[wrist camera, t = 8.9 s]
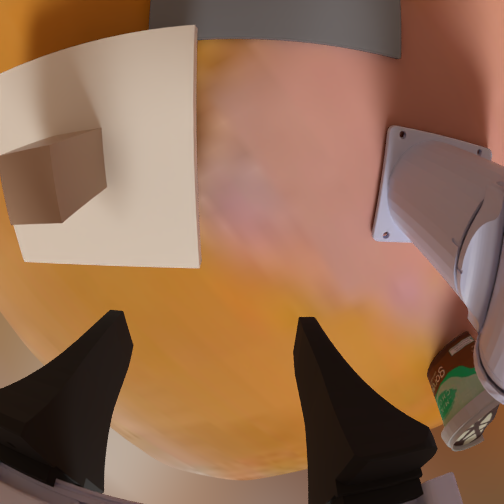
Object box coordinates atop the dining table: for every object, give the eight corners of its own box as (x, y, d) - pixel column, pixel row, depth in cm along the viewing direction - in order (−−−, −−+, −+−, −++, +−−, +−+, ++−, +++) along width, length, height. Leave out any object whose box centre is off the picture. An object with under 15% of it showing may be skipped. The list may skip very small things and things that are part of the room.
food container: (420, 344, 26) (458, 423, 17) (468, 321, 25) (514, 391, 16) (415, 401, 32) (438, 464, 23) (455, 383, 31) (483, 442, 22)
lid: (197, 28, 11) (170, -5, 6) (201, 260, 17) (185, 324, 12) (3, 75, 11) (-59, 84, 6) (30, 255, 16) (-13, 301, 12)
